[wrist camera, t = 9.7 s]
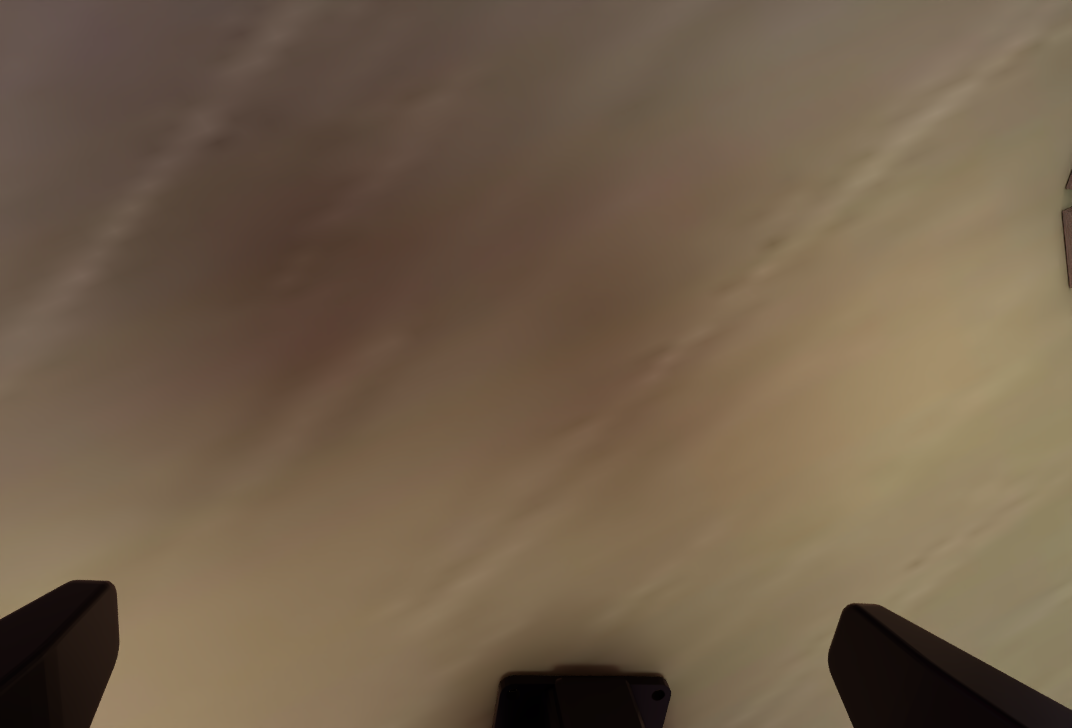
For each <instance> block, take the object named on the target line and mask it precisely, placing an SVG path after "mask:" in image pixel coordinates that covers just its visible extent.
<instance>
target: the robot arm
mask: <svg viewBox="0 0 1072 728" xmlns="http://www.w3.org/2000/svg"><path fill="white" fill-rule="evenodd" d="M118 651H119V623H118V605H117V591H116V589H115V586H114V585H113V584H112V583H111V582H110V581H96V580H73V581H70V582H68V583H65V584H63V585H62V586H60V587H58V588H56V589H54V590H53V591H51V592H49V593H47V594H45V595H44V596H42V597H40V598H38V599H36V600H34V601H33V602H31V603H29V604H27V605H25V606H24V607H22V608H20V609H18V610H16V611H14V612H13V613H11V614H9V615H7V616H5V617H4V618H2V619H0V728H90V726H91V723H92V721H93V718H94V716H95V713H96V711H97V708H98V706H99V703H100V701H101V698H102V696H103V693H104V691H105V688H106V686H107V683H108V681H109V678H110V676H111V673H112V671H113V668H114V666H115V663H116V660H117V656H118ZM828 665H829V670H830V673H831V676H832V678H833V680H834V683H835V685H836V687H837V690H838V692H839V694H840V697H841V699H842V701H843V704H844V706H845V708H846V711H847V713H848V715H849V718H850V720H851V722H852V725H853V727H854V728H1072V710H1070V709H1069V708H1067V707H1065V706H1063V705H1061V704H1059V703H1058V702H1056V701H1054V700H1052V699H1050V698H1049V697H1047V696H1045V695H1043V694H1041V693H1039V692H1038V691H1036V690H1034V689H1032V688H1030V687H1028V686H1027V685H1025V684H1023V683H1021V682H1019V681H1018V680H1016V679H1014V678H1012V677H1010V676H1008V675H1007V674H1005V673H1003V672H1001V671H999V670H998V669H996V668H994V667H992V666H990V665H988V664H987V663H985V662H983V661H981V660H979V659H977V658H976V657H974V656H972V655H970V654H968V653H967V652H965V651H963V650H961V649H959V648H957V647H956V646H954V645H952V644H950V643H948V642H946V641H945V640H943V639H941V638H939V637H937V636H936V635H934V634H932V633H930V632H928V631H926V630H925V629H923V628H921V627H919V626H917V625H915V624H914V623H912V622H910V621H908V620H906V619H905V618H903V617H901V616H899V615H897V614H895V613H894V612H892V611H890V610H888V609H886V608H884V607H883V606H880V605H877V604H862V603H852V604H849V605H847V606H846V607H845V608H844V609H843V611H842V613H841V616H840V619H839V622H838V625H837V628H836V631H835V634H834V637H833V640H832V643H831V646H830V649H829V652H828ZM512 689H516V691H513V692H509V691H510V690H512ZM656 690H659V691H658V692H655V691H656ZM653 692H654V693H653ZM670 697H671V690H670V688H669V686H668V683H667V681H666V680H665V679H664V678H662V677H646V676H534V675H513V676H508V677H506V678H504V679H503V680H502V681H501V682H500V684H499V688H498V694H497V700H496V707H495V713H494V719H493V725H492V728H663V724H664V720H665V716H666V712H667V708H668V705H669V701H670Z"/></svg>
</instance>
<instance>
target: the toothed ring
mask: <svg viewBox="0 0 1072 728" xmlns="http://www.w3.org/2000/svg"><path fill="white" fill-rule="evenodd" d="M1066 189H1072V173H1071V176H1070V178H1069V181H1068V184H1067V186H1066ZM1062 212H1063V223H1064V233H1065V243H1066V254H1067V264H1068V274H1069V285H1070V288H1072V207H1071V208H1068V209H1066V210H1064V211H1062Z"/></svg>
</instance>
